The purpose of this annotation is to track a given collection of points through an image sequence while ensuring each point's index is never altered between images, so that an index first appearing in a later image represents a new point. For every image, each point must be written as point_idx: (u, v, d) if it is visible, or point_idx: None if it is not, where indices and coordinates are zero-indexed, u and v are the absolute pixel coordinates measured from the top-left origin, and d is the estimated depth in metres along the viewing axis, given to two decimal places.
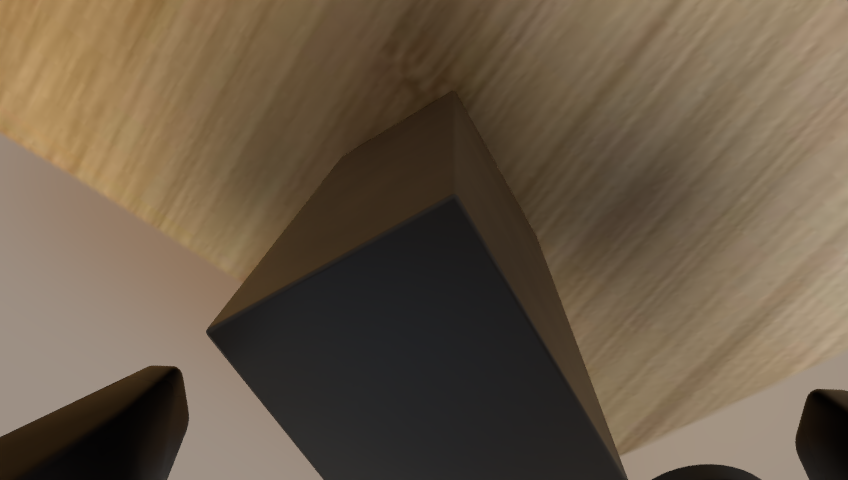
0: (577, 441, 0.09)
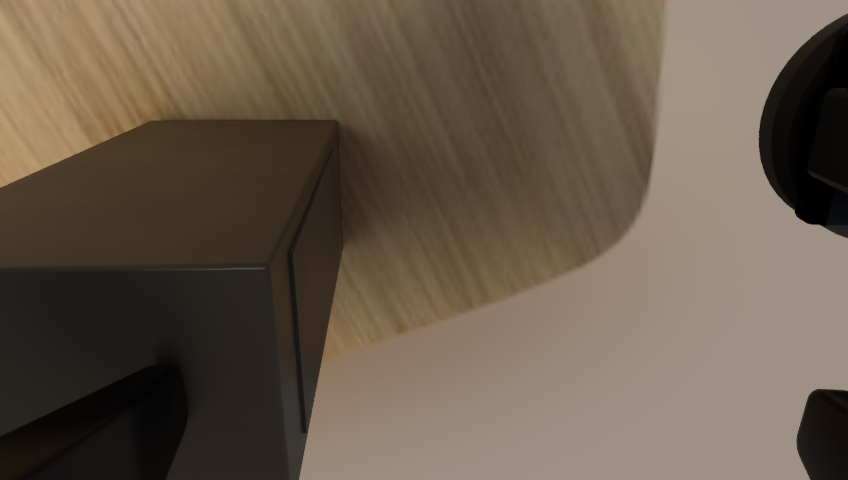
0: (168, 290, 0.08)
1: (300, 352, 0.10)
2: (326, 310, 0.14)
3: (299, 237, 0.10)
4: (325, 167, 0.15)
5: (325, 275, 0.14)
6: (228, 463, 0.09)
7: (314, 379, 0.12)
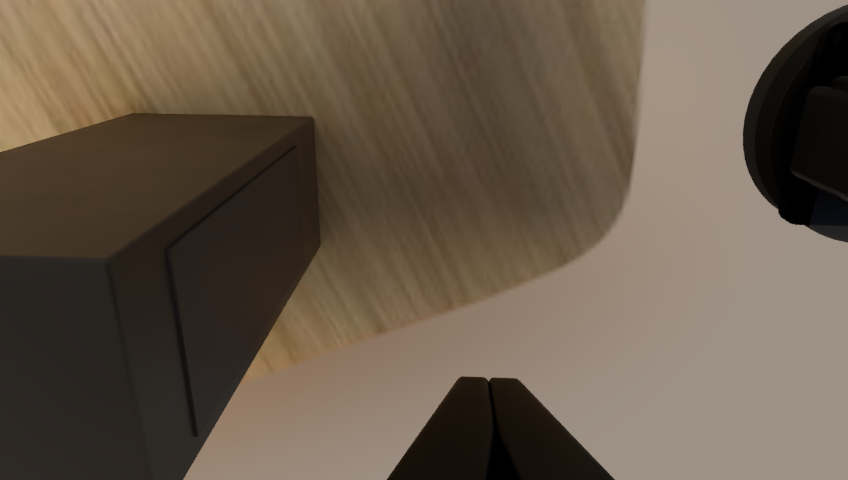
0: (10, 282, 0.08)
1: (187, 353, 0.10)
2: (263, 310, 0.14)
3: (191, 233, 0.10)
4: (274, 163, 0.15)
5: (263, 274, 0.14)
6: (88, 463, 0.09)
7: (224, 381, 0.12)
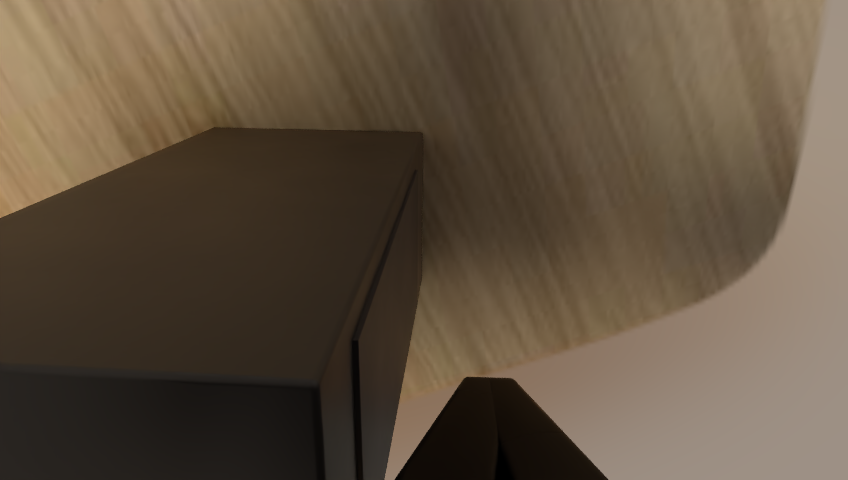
0: (166, 409, 0.05)
1: (363, 471, 0.07)
2: (400, 376, 0.11)
3: (369, 309, 0.07)
4: (407, 195, 0.12)
5: (401, 333, 0.11)
6: None
7: None
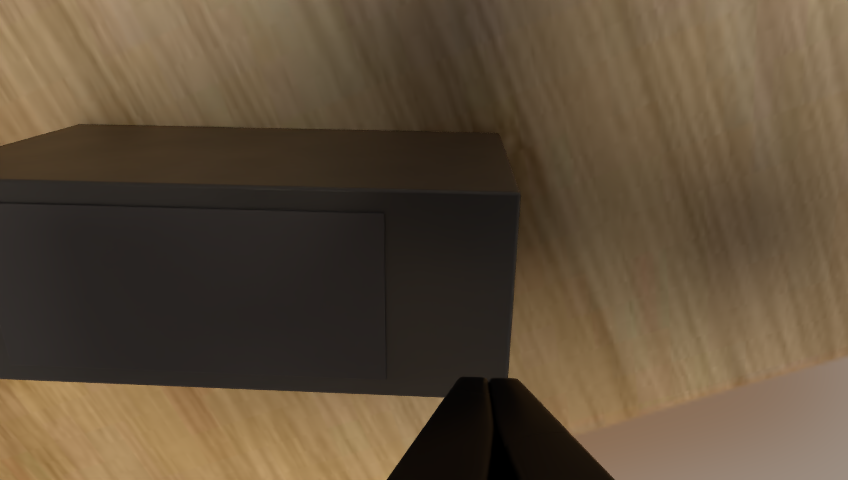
0: None
1: None
2: (190, 352, 0.12)
3: (5, 204, 0.11)
4: (266, 209, 0.11)
5: (195, 316, 0.12)
6: None
7: (67, 355, 0.12)
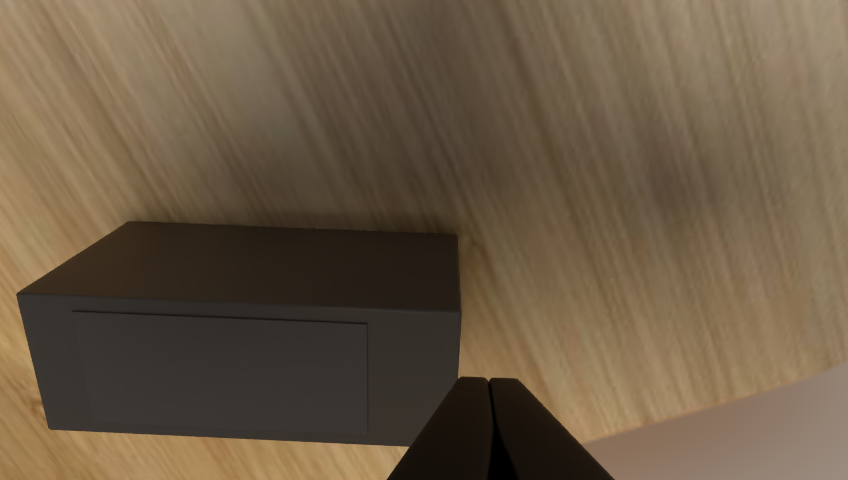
0: None
1: (85, 372, 0.17)
2: (226, 414, 0.17)
3: (99, 313, 0.16)
4: (285, 319, 0.16)
5: (231, 390, 0.17)
6: None
7: (136, 416, 0.17)
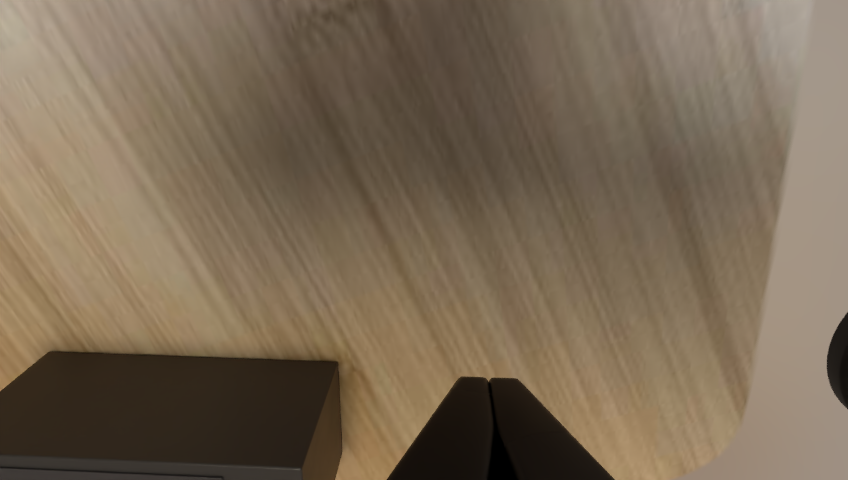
0: None
1: None
2: None
3: None
4: (153, 474, 0.18)
5: None
6: None
7: None
